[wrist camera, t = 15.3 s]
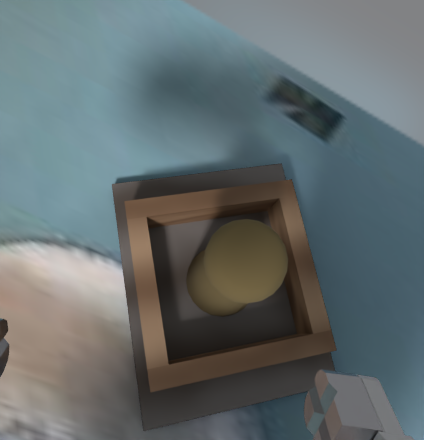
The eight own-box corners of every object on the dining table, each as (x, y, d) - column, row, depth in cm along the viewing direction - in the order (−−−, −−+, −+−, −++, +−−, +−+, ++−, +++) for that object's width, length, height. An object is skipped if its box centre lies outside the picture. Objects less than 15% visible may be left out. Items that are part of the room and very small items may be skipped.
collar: (333, 382, 32) (360, 389, 28) (144, 427, 29) (141, 444, 25) (278, 167, 37) (294, 146, 33) (113, 188, 34) (106, 167, 30)
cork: (263, 258, 33) (312, 224, 23) (245, 326, 31) (289, 322, 21) (198, 236, 33) (217, 192, 23) (176, 303, 31) (186, 289, 21)
